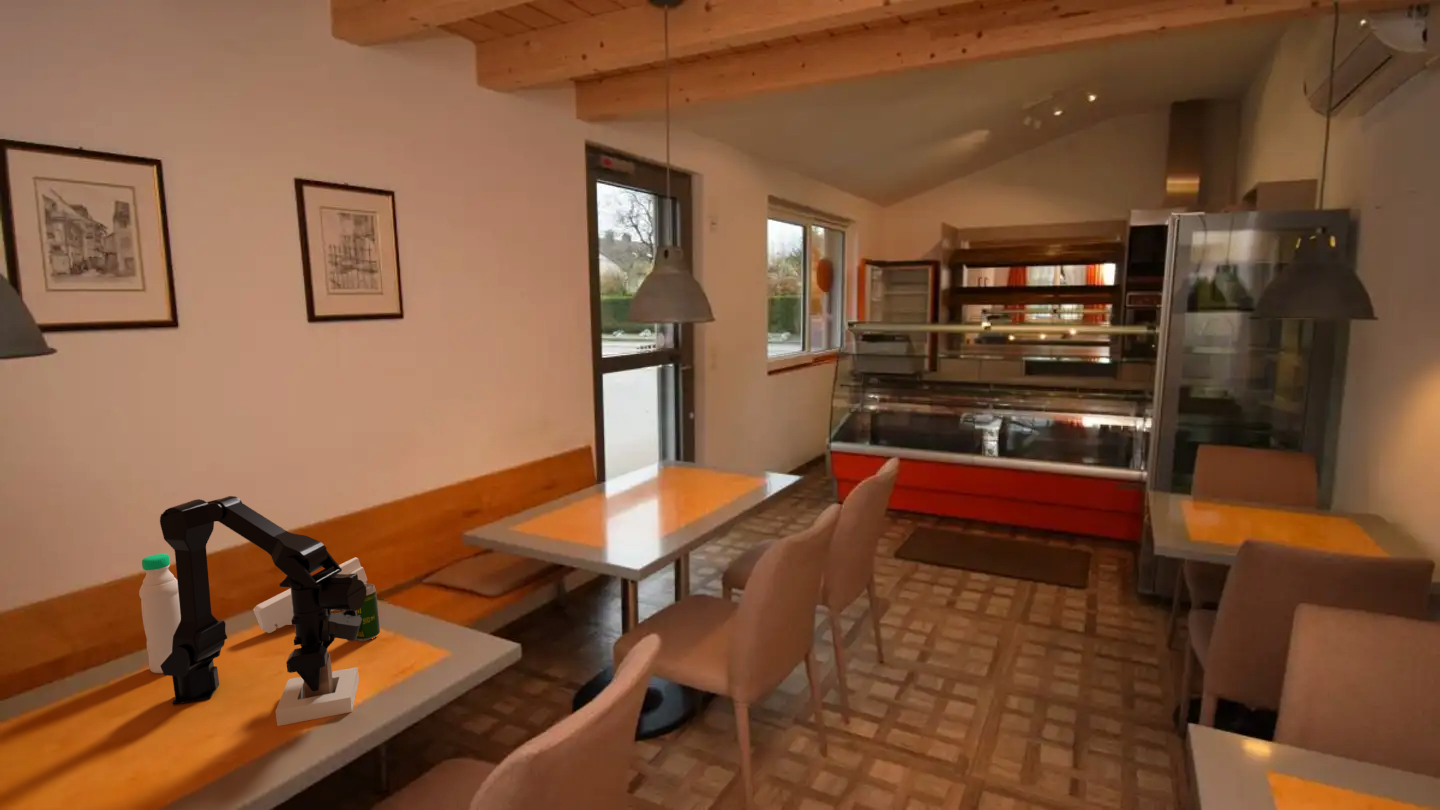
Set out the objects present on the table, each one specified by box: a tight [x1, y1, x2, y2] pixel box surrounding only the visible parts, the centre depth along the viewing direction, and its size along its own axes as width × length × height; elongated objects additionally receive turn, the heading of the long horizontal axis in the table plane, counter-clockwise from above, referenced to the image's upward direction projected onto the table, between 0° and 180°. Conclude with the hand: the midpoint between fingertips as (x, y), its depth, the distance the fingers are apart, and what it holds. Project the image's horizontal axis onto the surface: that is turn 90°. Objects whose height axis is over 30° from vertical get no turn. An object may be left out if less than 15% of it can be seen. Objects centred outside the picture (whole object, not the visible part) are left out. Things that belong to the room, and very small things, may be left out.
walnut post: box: [304, 652, 335, 698], centre depth 144 cm, size 4×4×9 cm
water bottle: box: [138, 553, 181, 674], centre depth 158 cm, size 7×7×25 cm
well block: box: [275, 666, 360, 727], centre depth 144 cm, size 12×12×3 cm
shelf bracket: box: [253, 556, 368, 634], centre depth 184 cm, size 6×25×13 cm, turn 143°
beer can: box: [355, 583, 381, 642], centre depth 172 cm, size 5×5×12 cm
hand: (318, 683), depth 144 cm, fingers open, 6 cm apart
